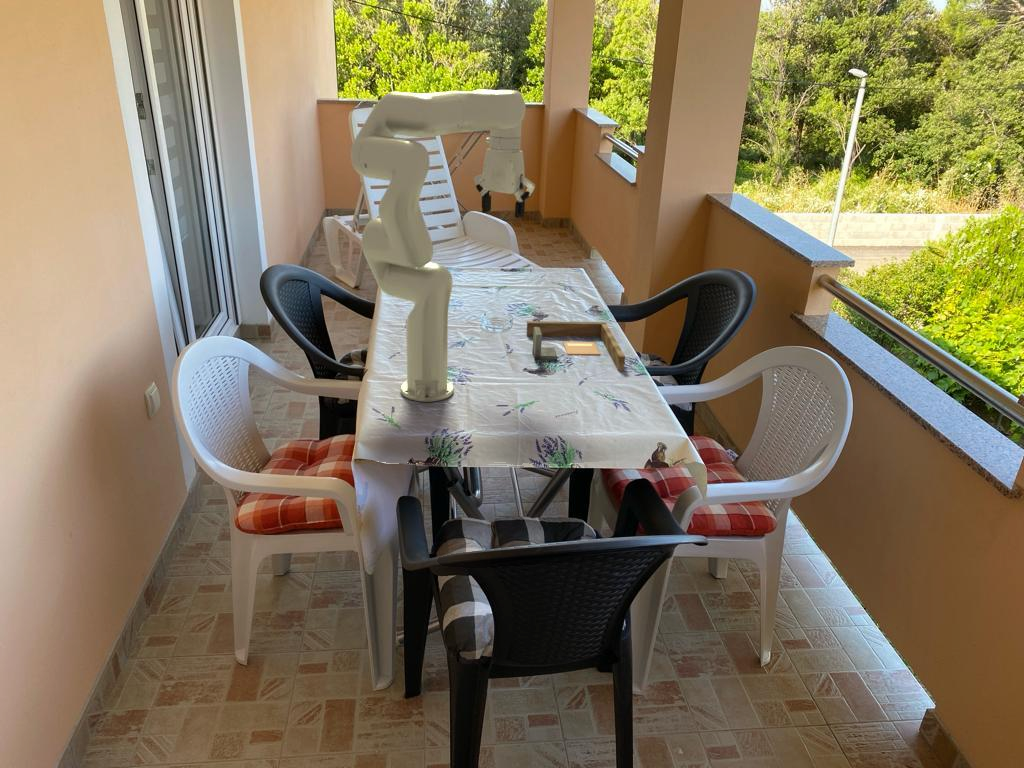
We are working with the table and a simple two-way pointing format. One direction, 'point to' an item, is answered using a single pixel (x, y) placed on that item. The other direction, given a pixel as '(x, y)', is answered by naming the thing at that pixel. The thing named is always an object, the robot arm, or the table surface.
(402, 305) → the table surface
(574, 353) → the pad
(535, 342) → the bracket
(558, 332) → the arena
